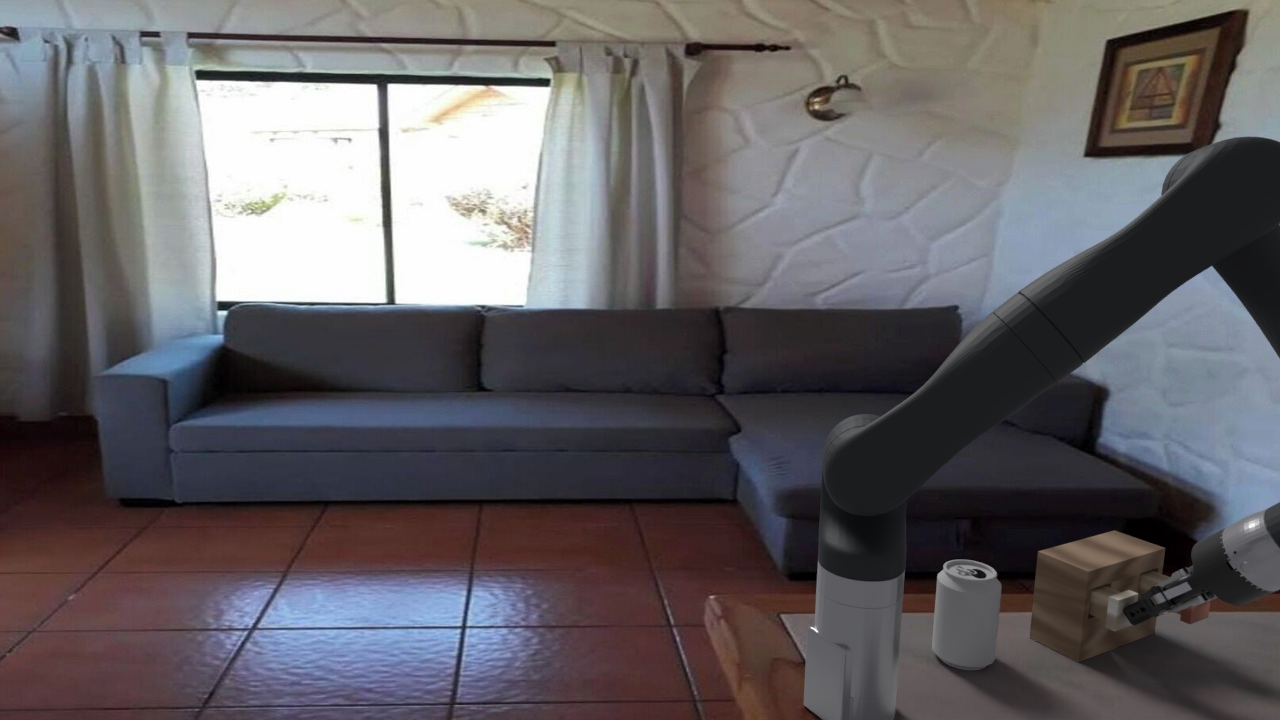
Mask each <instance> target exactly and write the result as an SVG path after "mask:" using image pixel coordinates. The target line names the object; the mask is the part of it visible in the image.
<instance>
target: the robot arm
mask: <svg viewBox="0 0 1280 720" xmlns="http://www.w3.org/2000/svg"><path fill="white" fill-rule="evenodd" d="M1211 267H1212V268H1213V269H1214V270H1215V272H1216V273H1217V274H1218V275H1219V276H1220V277H1221V279H1222V280H1223V281H1224V282H1225V284H1226V285H1227V286H1228V287H1229V288H1230V289H1231V291H1232V293H1234V294H1235V296H1236V297H1237V299H1238V300H1239V301H1240V303H1241V304H1242V305H1243V307H1244V308H1245V309H1246V310H1247V312H1248V313H1249V315H1250V316H1251V319H1253V321H1254V322H1255V324H1256V325H1257V326H1258V328H1259V329H1260V331H1261V333H1262V334H1263V336H1264V337H1265V338H1266V340H1267V341H1268V343H1269V345H1270V346H1271V347H1272V349H1273V350H1274V352H1275V354H1276V355H1277V357H1278V358H1279V359H1280V141H1278V140H1275V139H1272V138H1268V137H1261V136H1237V137H1231V138H1228V139H1227V138H1226V139H1223V140H1220V141H1216V142H1214V143H1211V144H1207V145H1205V146H1202V147H1199V148H1197V149H1195V150H1193V151H1190V152H1189V153H1187V154H1185V155H1183V156H1182V157H1181V158H1179V159H1178V160H1177V161H1176V163H1174V164H1173V165H1172V166H1171V168H1170V169H1169V171H1168V173H1167V174H1166V176H1165V178H1164V180H1163V183H1162V187H1161V196H1160V197H1158V199H1156V200H1155V201H1153V202H1152V203H1151V205H1150V206H1148V207H1147V208H1146V209H1144V211H1142V212H1141V213H1140V214H1139V215H1138V216H1137V217H1135V218H1134V219H1133V220H1131V221H1130V222H1129V223H1127V225H1125V226H1124V227H1122V228H1121V229H1119V230H1118V231H1117V232H1115V233H1113V234H1112V235H1110V236H1108V237H1107V238H1105V239H1103V240H1102V241H1100V242H1098V243H1096V244H1094V245H1093V246H1091V247H1088V248H1087V249H1085V250H1083V251H1081V252H1080V253H1078V254H1076V255H1074V256H1073V257H1070V258H1069V259H1067V260H1065V261H1063V262H1062V263H1060V264H1058V265H1057V266H1055V267H1053V268H1051V269H1050V270H1049V271H1047V272H1045V273H1043V274H1042V275H1041V276H1039V277H1038V278H1036V279H1034V280H1033V281H1031V282H1030V283H1029V284H1027V285H1026V286H1024V287H1023V288H1021V289H1020V290H1018V292H1016V293H1015V294H1013V295H1012V296H1011V297H1010V298H1008V299H1007V300H1006V301H1004V302H1003V303H1002V304H1001V305H999V306H998V307H997V308H995V309H994V310H993V311H992V312H991V313H989V314H988V315H987V316H985V318H983V319H982V320H981V321H979V322H978V324H977V325H975V327H973V328H972V329H971V330H970V331H969V333H968V334H966V336H965V337H964V338H963V339H962V340H961V341H960V343H959V344H957V346H956V347H955V348H954V350H953V351H951V352H950V354H949V355H948V357H946V358H945V360H944V361H943V362H942V363H941V365H940V366H939V367H938V369H937V370H936V371H935V372H934V373H933V374H932V375H931V377H930V378H929V379H928V380H927V381H926V382H925V383H924V384H923V385H922V386H920V388H918V389H917V390H916V391H915V392H913V393H912V394H911V395H910V396H909V397H907V398H906V399H905V400H903V401H901V402H900V403H899V404H897V405H896V406H894V407H893V408H891V409H890V410H889V411H887V412H885V413H884V414H883V415H881V416H880V415H877V414H869V413H861V414H856V415H852V416H849V417H847V418H844V419H843V420H841V421H840V422H838V424H836V425H835V426H834V427H833V428H832V429H831V430H830V432H829V434H828V435H827V438H826V439H825V442H824V446H823V452H822V462H821V463H822V465H821V466H822V469H821V487H820V508H819V509H820V510H819V523H818V525H819V526H818V549H817V551H818V552H817V573H816V589H815V591H816V592H815V608H814V609H815V611H814V625H810V626H809V627H808V628H807V630H806V644H805V645H806V648H805V649H806V650H805V651H806V652H805V669H804V687H803V689H804V690H803V691H804V692H803V706H805V707H806V709H808V710H809V711H811V712H812V713H813V714H815V716H817V717H819V718H820V719H821V720H894V719H895V716H896V704H897V691H898V677H899V675H898V673H899V664H900V663H899V661H900V646H901V645H900V643H901V634H902V633H901V631H902V618H903V617H902V616H903V615H902V614H903V604H904V603H903V602H904V591H905V590H904V589H905V588H904V587H905V586H904V585H905V574H906V573H905V572H906V563H907V551H908V550H907V549H908V548H907V547H908V546H907V502H908V499H910V497H911V496H913V494H915V493H916V492H917V491H918V490H919V489H920V488H921V487H922V486H923V485H924V484H925V483H926V482H928V480H929V479H930V478H932V477H933V476H934V475H935V474H936V473H938V471H939V470H940V469H942V468H943V467H944V466H945V465H946V464H947V463H948V462H950V460H951V459H953V458H954V457H955V456H956V455H957V454H958V453H960V452H961V451H962V450H963V449H964V448H966V447H967V446H968V445H970V444H972V443H973V441H975V440H977V439H978V438H980V437H981V436H983V435H984V434H985V433H987V432H988V431H990V430H992V429H993V428H995V427H996V426H998V425H999V424H1001V423H1002V422H1004V421H1005V420H1006V419H1008V418H1010V417H1011V416H1012V415H1014V414H1015V413H1017V412H1018V411H1019V410H1021V409H1022V408H1023V407H1025V406H1026V405H1027V404H1029V403H1030V402H1031V401H1033V400H1034V399H1036V398H1037V397H1039V396H1040V395H1041V394H1043V393H1045V392H1046V391H1048V390H1049V389H1051V388H1052V387H1054V386H1055V385H1057V384H1058V383H1059V382H1061V381H1062V380H1064V379H1065V378H1067V377H1068V376H1069V375H1070V374H1072V373H1074V371H1076V370H1077V369H1079V368H1080V367H1081V366H1082V365H1083V364H1085V363H1087V362H1088V361H1089V360H1090V359H1092V358H1093V357H1095V356H1096V354H1098V353H1099V352H1100V351H1102V350H1103V349H1104V348H1105V347H1107V346H1108V345H1110V343H1112V342H1113V341H1114V340H1116V339H1117V338H1118V337H1119V336H1121V335H1122V334H1123V333H1125V332H1126V331H1127V330H1128V329H1129V328H1131V327H1132V326H1134V325H1135V323H1137V322H1138V321H1139V320H1141V318H1143V317H1144V316H1145V315H1146V314H1148V313H1150V311H1151V310H1152V309H1154V308H1155V307H1156V306H1157V305H1158V304H1159V303H1161V302H1162V301H1163V300H1164V299H1165V298H1166V297H1168V296H1169V295H1170V294H1171V293H1173V292H1174V291H1175V290H1177V289H1178V288H1180V287H1182V285H1184V284H1185V283H1187V282H1188V281H1190V280H1192V279H1193V278H1194V277H1196V276H1198V275H1199V274H1201V273H1203V272H1204V271H1206V270H1207V269H1209V268H1211ZM1190 553H1191V555H1190V556H1191V557H1190V558H1191V562H1192V565H1190V566H1189V567H1187V566H1185V567H1182V568H1181V569H1178V570H1177V571H1174V572H1173V573H1172V574H1171V576H1169V577H1170V578H1168V579H1166V580H1164V581H1162V582H1160V583H1158V584H1156V585H1155V586H1153V587H1151V589H1150V590H1148V591H1147V592H1145V593H1144V594H1142V595H1141V596H1140V597H1139V601H1137V602H1135V603H1133V604H1131V605H1129V606H1127V607H1125V608H1123V612H1124V614H1125V616H1126V617H1127V619H1128V620H1129V622H1130V623H1131V624H1132V625H1137V624H1140V623H1143V622H1145V621H1147V620H1149V619H1151V618H1153V617H1163V616H1164V615H1165V614H1166V613H1168V614H1170V613H1173V614H1175V612H1178V611H1181V610H1183V609H1186V608H1189V607H1192V606H1196V605H1199V604H1202V603H1204V602H1206V601H1210V600H1211V601H1212V600H1215V599H1217V598H1218V599H1219V600H1221V601H1222V602H1225V603H1226V604H1228V605H1232V606H1237V607H1238V606H1245V605H1247V604H1251V603H1253V602H1255V601H1258V600H1259V599H1262V598H1264V597H1266V596H1268V595H1270V594H1273V593H1276V592H1278V591H1279V590H1280V501H1279V502H1278V503H1275V504H1274V505H1272V506H1269V507H1268V508H1266V509H1263V510H1260V511H1257V512H1255V513H1252V514H1249V515H1247V516H1244V517H1242V518H1241V519H1239V520H1237V521H1235V522H1233V523H1231V524H1229V525H1228V526H1225V527H1224V528H1222V529H1220V530H1218V531H1216V532H1213V533H1212V534H1210V535H1207V536H1206V537H1205V538H1203V539H1201V540H1199V541H1197V542H1196V543H1195V544H1194V545H1193V546H1192V549H1191V552H1190Z"/></svg>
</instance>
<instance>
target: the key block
mask: <svg viewBox="0 0 1280 720" xmlns="http://www.w3.org/2000/svg"><path fill="white" fill-rule="evenodd" d="M1165 552H1166V547H1164V546H1160V545H1158V544H1155V543H1151V542H1149V541H1146V540H1143V539H1140V538H1138V537H1134V536H1132V535H1129V534H1127V533H1123V532H1120V531H1118V530H1111V531H1106V532H1104V533H1100V534H1096V535H1093V536H1088V537H1085V538H1082V539H1078V540H1075V541H1071V542H1067V543H1064V544H1060V545H1056V546H1052V547H1049V548H1045V549H1041V550H1038V551H1037V556H1036V557H1037V559H1036V568H1035V576H1034V577H1035V578H1034V588H1033V589H1034V590H1033V599H1032V609H1031V619H1030V629H1029V637H1030V639H1031V638H1032V639H1031V640H1033V639H1034V641H1035V640H1036V641H1035V642H1037V641H1038V643H1039V642H1040V643H1039V644H1041V643H1042V644H1041V645H1043V646H1045V645H1046V646H1045V647H1047V646H1048V647H1047V648H1049V647H1050V649H1051V648H1052V649H1051V650H1053V649H1054V650H1053V651H1054V652H1057V653H1059V654H1061V655H1063V656H1065V657H1067V658H1069V659H1071V660H1072V661H1075V662H1076V663H1080V662H1082V661H1084V660H1088V659H1091V658H1094V657H1097V656H1099V655H1101V654H1104V653H1106V652H1109V651H1112V650H1114V649H1118V648H1119V647H1122V646H1125V645H1128V644H1131V643H1132V642H1136V641H1138V640H1141V639H1143V638H1146V637H1148V636H1151V635H1153V634H1155V633H1156V625H1157V617H1153V618H1151V619H1149V620H1147V621H1145V622H1143V623H1140V624H1137V625H1131V626H1129V627H1126V628H1123V629H1120V630H1118V631H1112V630H1110V629H1108V628H1106V627H1105V626H1106V621H1104V620H1101V619H1099V618H1097V617H1095V616H1093V615H1090V614H1089V605H1090V596H1091V589H1093V588H1096V587H1100V586H1103V585H1104V586H1107V587H1109V588H1112V589H1114V590H1116V591H1119V592H1124V591H1127V590H1131V591H1133V592H1136V593H1138V588H1139V579H1140V573H1143V572H1146V571H1149V570H1152V571H1155V572H1158V573H1160V574H1163V569H1164V564H1165V563H1164V562H1165V554H1166V553H1165ZM1138 601H1139V598H1138Z"/></svg>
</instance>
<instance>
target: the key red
mask: <svg viewBox="0 0 1280 720" xmlns="http://www.w3.org/2000/svg"><path fill="white" fill-rule="evenodd" d="M1170 577H1171V576H1168V575H1166V574H1163V573H1162V574H1160V573H1158V572H1155V571H1152V570H1149V571H1146V572H1143V573H1140V579H1139V588H1138V598H1139V597H1140V596H1141V595H1142V594H1144V593H1145V592H1147V591H1148V590H1150V589H1151V587H1153V586H1155V585H1156V584H1158V583H1160V582H1162V581H1164V580H1166V579H1168V578H1170ZM1211 601H1212V600H1210V601H1206V602H1204V603H1202V604H1199V605H1196V606H1192V607H1189V608H1186V609H1183V610H1181V611H1178V612H1175V613H1176V614H1177V615H1180V618H1179V621H1181V622H1183V623H1185V624H1187V625H1192V624H1195V623H1198V622H1201V621H1203V620H1206V619H1208V618H1209V617H1210V608H1211V607H1210V606H1211V603H1212V602H1211ZM1175 613H1174V614H1175Z"/></svg>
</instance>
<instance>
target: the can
mask: <svg viewBox="0 0 1280 720" xmlns="http://www.w3.org/2000/svg"><path fill="white" fill-rule="evenodd" d="M942 567H943V568H942V570H941V571H940V572H938V573H937V574H936V575H937V576H936V589H935V591H936V592H935V601H934V602H935V603H934V614H933V615H934V616H933V629H932V639H931V640H932V642H931V650H932V651H933V653H934V654H936V656H937V657H938V658H939V659H940V661H941V662H943V663H945V664H946V665H948V666H950V667H952V668H956V669H959V670H965V671H978V670H982V669H984V668H986V667H987V666H989V665H991V664H993V663H994V661H995V660H996V653H997V652H996V651H997V642H998V630H999V621H1000V620H999V618H1000V609H1001V601H1002V599H1001V597H1002V583H1001V582H1000V581H999V579H998V578H997V577H998V572H997V571H996V570H995V569H994V568H993V567H992V566H990V565H988V564H986V563H983V562H982V561H981V562H979V561H976V560H971V559H952V560H949V561H946V562H945V563H944V564H943V566H942Z"/></svg>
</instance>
